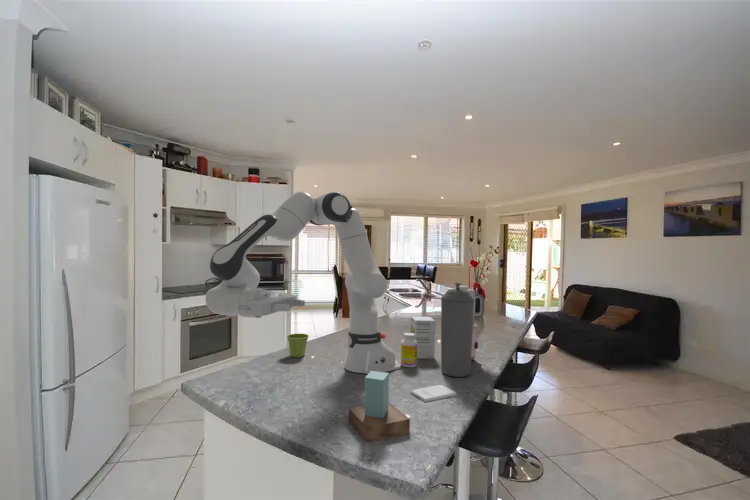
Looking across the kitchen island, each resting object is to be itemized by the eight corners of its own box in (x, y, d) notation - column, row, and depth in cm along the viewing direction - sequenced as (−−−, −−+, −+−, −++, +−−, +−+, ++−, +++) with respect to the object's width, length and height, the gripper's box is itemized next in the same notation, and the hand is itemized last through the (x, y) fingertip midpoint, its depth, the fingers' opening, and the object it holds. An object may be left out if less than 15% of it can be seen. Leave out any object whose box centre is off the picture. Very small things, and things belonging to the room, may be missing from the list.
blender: (443, 361, 156) (445, 286, 156) (448, 353, 168) (449, 284, 168) (481, 366, 151) (483, 288, 151) (483, 358, 162) (485, 286, 162)
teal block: (370, 406, 99) (371, 370, 99) (388, 409, 98) (388, 373, 97) (364, 415, 95) (365, 377, 94) (383, 418, 93) (383, 380, 93)
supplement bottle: (416, 368, 145) (417, 336, 145) (399, 367, 146) (400, 335, 146) (417, 363, 152) (418, 332, 152) (401, 362, 153) (402, 331, 153)
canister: (461, 366, 149) (463, 281, 149) (479, 377, 137) (481, 284, 137) (433, 369, 145) (435, 281, 145) (449, 380, 133) (451, 284, 133)
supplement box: (409, 352, 168) (410, 316, 168) (429, 352, 169) (430, 316, 169) (414, 358, 159) (415, 320, 159) (434, 358, 160) (435, 320, 160)
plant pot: (288, 359, 152) (288, 339, 152) (284, 353, 161) (285, 334, 161) (310, 357, 156) (311, 337, 156) (305, 352, 164) (306, 332, 164)
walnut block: (387, 415, 104) (387, 401, 104) (409, 434, 93) (409, 418, 93) (348, 422, 99) (348, 408, 99) (367, 444, 88) (367, 427, 88)
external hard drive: (456, 397, 118) (424, 403, 113) (440, 388, 126) (410, 394, 120) (456, 392, 118) (425, 398, 113) (440, 384, 126) (410, 389, 120)
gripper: (234, 296, 101) (280, 299, 98) (272, 289, 121) (311, 291, 117) (234, 319, 101) (279, 322, 98) (272, 308, 121) (310, 311, 117)
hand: (297, 305), depth 108 cm, fingers open, 8 cm apart
